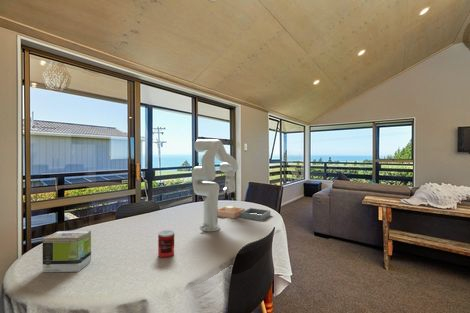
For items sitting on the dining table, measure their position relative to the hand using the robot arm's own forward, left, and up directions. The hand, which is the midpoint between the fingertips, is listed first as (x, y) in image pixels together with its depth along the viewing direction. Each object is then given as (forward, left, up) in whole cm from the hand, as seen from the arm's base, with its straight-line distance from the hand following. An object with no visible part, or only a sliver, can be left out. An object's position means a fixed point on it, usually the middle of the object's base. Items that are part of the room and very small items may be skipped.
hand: (229, 198), depth 190 cm
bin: (+6, -21, -14) cm, 26 cm away
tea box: (-110, +18, -14) cm, 113 cm away
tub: (+1, 0, -14) cm, 14 cm away
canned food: (-79, -10, -14) cm, 81 cm away
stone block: (+1, 0, -13) cm, 13 cm away
